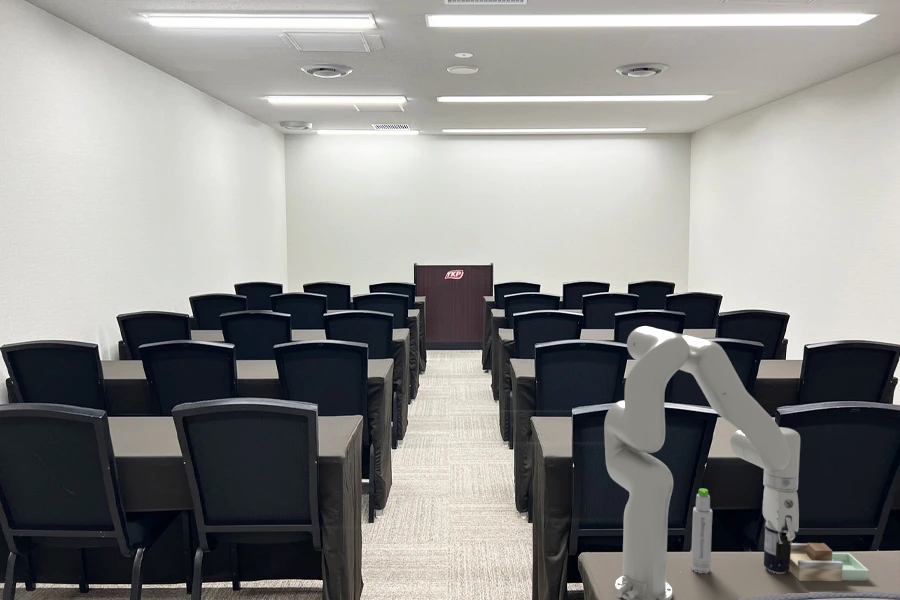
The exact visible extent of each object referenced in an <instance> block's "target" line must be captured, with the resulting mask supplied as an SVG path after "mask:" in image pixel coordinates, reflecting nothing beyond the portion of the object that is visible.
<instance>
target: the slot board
mask: <svg viewBox="0 0 900 600" xmlns="http://www.w3.org/2000/svg"><path fill="white" fill-rule="evenodd" d="M807 543H808V542H807ZM807 543H806V542H805V543H800V542H799V543H798V542H794V543H793V542H792V544H791V555H790V568H789V570H788V571H790V572H791V573H792V574H793V576H794V577H796V579H797V580H798V581H799V582H800V581H801V582H802V581H803V582H804V581H805V582H811V581H812V582H842V581H843V580H842V568H843V563H842V562H841V561H833V560H832V561H812V560H811V559H810V558H809V557H808V556H807Z"/></svg>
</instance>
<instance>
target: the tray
mask: <svg viewBox="0 0 900 600" xmlns="http://www.w3.org/2000/svg"><path fill="white" fill-rule="evenodd" d="M832 560H833V561H841V562H842V563H843V568H842V581H863V582H864V581H869V579H870V578H869V576H870V570H869V569H868V567H866V566H864V565H863V563H861V562H860V561H859V560H858V559H856V558H855V556H853V554H851V553H850V552H832Z"/></svg>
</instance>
